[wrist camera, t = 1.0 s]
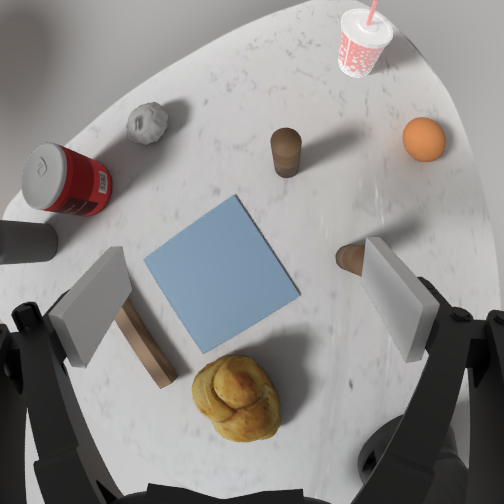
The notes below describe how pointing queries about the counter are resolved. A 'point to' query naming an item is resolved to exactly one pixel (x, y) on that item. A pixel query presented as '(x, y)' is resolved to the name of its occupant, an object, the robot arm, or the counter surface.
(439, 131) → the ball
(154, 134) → the garlic
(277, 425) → the bread roll
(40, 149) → the canned food
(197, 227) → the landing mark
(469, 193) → the counter surface
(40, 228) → the bottle
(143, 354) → the bar
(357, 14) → the beverage cup
